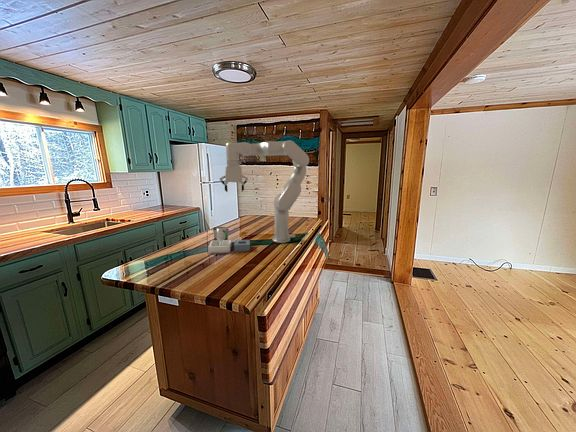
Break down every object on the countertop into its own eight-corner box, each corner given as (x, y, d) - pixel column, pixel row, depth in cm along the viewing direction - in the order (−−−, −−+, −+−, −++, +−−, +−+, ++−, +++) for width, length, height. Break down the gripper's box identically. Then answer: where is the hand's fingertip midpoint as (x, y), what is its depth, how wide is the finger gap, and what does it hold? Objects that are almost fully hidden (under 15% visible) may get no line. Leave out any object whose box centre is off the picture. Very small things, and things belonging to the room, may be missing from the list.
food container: (233, 242, 153) (233, 228, 151) (226, 245, 148) (225, 230, 146) (220, 239, 159) (219, 225, 157) (213, 242, 154) (212, 227, 152)
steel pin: (223, 247, 142) (222, 228, 139) (223, 248, 139) (222, 229, 136) (218, 247, 141) (217, 228, 139) (217, 249, 138) (216, 229, 136)
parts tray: (231, 246, 147) (231, 239, 146) (229, 252, 135) (229, 246, 134) (211, 246, 145) (211, 240, 144) (208, 253, 133) (208, 247, 133)
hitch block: (249, 246, 147) (249, 239, 146) (249, 250, 139) (249, 244, 138) (235, 246, 146) (235, 240, 145) (234, 251, 137) (234, 245, 136)
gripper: (247, 163, 147) (248, 190, 151) (219, 163, 144) (221, 191, 148) (247, 163, 140) (248, 191, 144) (217, 163, 137) (219, 192, 141)
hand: (234, 191), depth 146 cm, fingers open, 9 cm apart
